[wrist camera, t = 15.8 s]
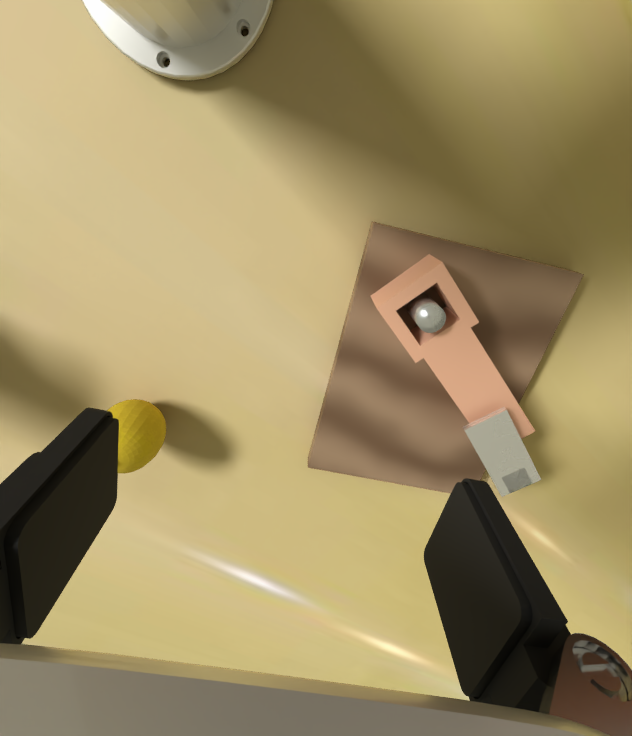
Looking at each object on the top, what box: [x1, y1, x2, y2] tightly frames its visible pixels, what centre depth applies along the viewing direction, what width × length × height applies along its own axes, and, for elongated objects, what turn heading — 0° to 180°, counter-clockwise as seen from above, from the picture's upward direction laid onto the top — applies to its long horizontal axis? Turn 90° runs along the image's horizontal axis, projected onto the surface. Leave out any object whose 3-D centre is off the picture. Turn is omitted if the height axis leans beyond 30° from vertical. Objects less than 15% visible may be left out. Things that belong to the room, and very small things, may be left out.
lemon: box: [107, 399, 166, 473], centre depth 34 cm, size 6×6×8 cm
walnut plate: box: [308, 222, 584, 493], centre depth 36 cm, size 23×17×2 cm
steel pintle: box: [404, 292, 446, 333], centre depth 30 cm, size 2×2×4 cm
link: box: [371, 254, 535, 439], centre depth 32 cm, size 17×5×4 cm, turn 37°
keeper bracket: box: [463, 407, 541, 497], centre depth 35 cm, size 8×4×6 cm, turn 32°
